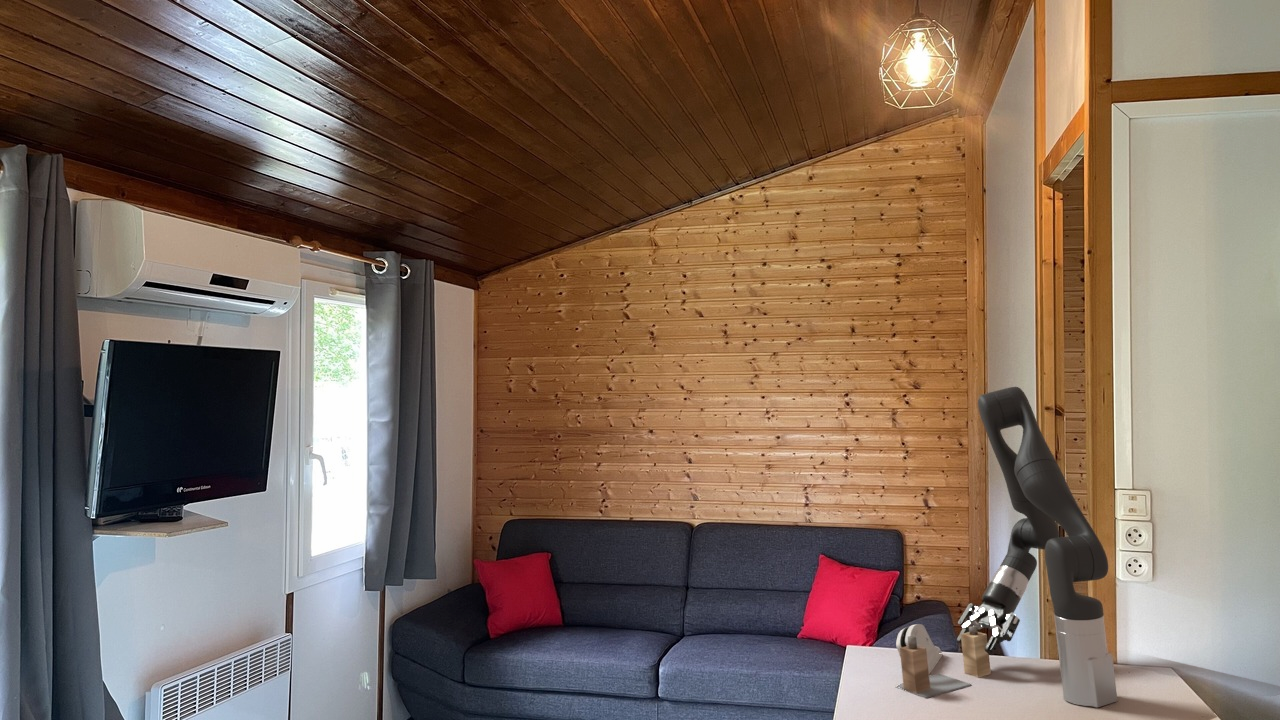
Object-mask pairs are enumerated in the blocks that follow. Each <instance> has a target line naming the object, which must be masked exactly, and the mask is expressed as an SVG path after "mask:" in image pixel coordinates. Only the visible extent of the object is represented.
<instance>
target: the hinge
mask: <svg viewBox="0 0 1280 720" xmlns="http://www.w3.org/2000/svg"><path fill="white" fill-rule="evenodd" d="M909 636H915V637H916V642H917V646H920V647H924V648H926V651H927V661H928V671H929V675H930V674H931V673H932V672H933V670H934V669H935V667H936V665H937V664H938V663H939V661H940V660H941V658H942V656H943V653H942V650H941V648H940V647H939V646H936V645H934V643H933V641H932V639H931V636H929V632H928V631H927V630H926V627H925V626H924V624H920V623H917V624H912V625H909V626H906V627H904V628H903V629H900V630H899V632H898V634H897V638H896V642H895V644H896V645H895V646H896V650H897V652H898V654H899V657H900V658H901V656H900V648H902V647H906V646H908V637H909ZM939 653H942V654H939Z"/></svg>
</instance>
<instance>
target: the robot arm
mask: <svg viewBox="0 0 1280 720" xmlns="http://www.w3.org/2000/svg"><path fill="white" fill-rule="evenodd" d="M977 408H978V413H979V415H980V419H981V422H982V424H983V427H984V430H985V433H986V435H987V438H988V440H989V444H990V445H991V448H992V450H993V453H994V455H995V457H996V460H997V462H998V465H999V467H1000V470H1001V472H1002V474H1003V477H1004V481H1005V484H1006V488H1007V492H1008V495H1009V498H1010V503H1011V505H1012V508H1013V509H1014V510H1015V511H1016V512H1018V513H1019V514H1022V515H1024V516H1025V517H1026V518H1025V517H1024V518H1021V519H1019V520H1018V521H1016V523H1015V524H1014V525H1013V527H1012V529H1011V532H1010V538H1009V543H1008V547H1007V553H1006V555H1005V557H1003V560H1002V562H1001V564H1000V566H999V568H997V571H995V573H994V574H993V576H992V577H991V580H990V581H989V583H988V585H987V587H986V588H985V591H984V592H983V595H982V596H981V602H982V603H981V604H980V605H979V606H976V605H974V604H973V603H972V602H971V603H969V604H968V605H967V607H966V608H965V610H964V611H963V613H962V614H961V616H960V618H959V619H958V621H957V624H958V625H959V626H960V627H961V629H962V630H961V631H960V633H959V635H958V636H957V639H956V642H957V644H959V646H960V647H962V642H961V634H963V633H967V632H969V627H970V626H976V627H977V631H978V630H981V629H984V628H985V629H990V630H991V631H992V635H991V636H990V638H989V640H988V644H987V645H986V647H985V651H986V652H987V653H988V654H989V656H993V655H994V654H995V653H996V652H997V650H998V649H999V646H1000V644H1001V643H1003V642H1004V641H1007V642H1011V641H1012V639H1013V638H1014V635H1015V633H1016V631H1017V628H1018V626H1019V624H1020V621H1021V620H1020V618H1019V617H1018V616H1017V615H1016V614H1015V611H1016V609H1017V607H1018V605H1019V603H1020V602H1021V600H1022V597H1023V596H1024V595H1025V592H1026V590H1027V587H1028V584H1029V582H1030V580H1031V578H1032V577H1033V574H1034V572H1035V571H1036V568H1037V566H1038V561H1037V559H1036V557H1035V556H1034V555H1033V554H1032V553H1030V550H1031V549H1037V550H1043V551H1044V561H1045V567H1046V573H1047V579H1048V580H1047V581H1048V585H1049V592H1050V593H1049V594H1050V598H1051V602H1052V606H1053V614H1054V623H1055V633H1056V642H1057V653H1058V659H1059V661H1058V662H1059V669H1060V679H1061V687H1062V697H1063V700H1065V701H1066V702H1068V703H1070V704H1074V705H1078V706H1084V707H1093V708H1100V707H1104V706H1106V705H1110V704H1113V703H1115V702H1118V694H1117V685H1116V675H1115V667H1114V666H1115V665H1114V659H1113V658H1114V657H1113V654H1112V653H1109V652H1108V644H1107V635H1106V626H1105V616H1104V608H1103V607H1104V606H1103V603H1102V601H1101V600H1099V599H1097V598H1095V597H1092V596H1089V595H1085V594H1081V593H1078V592H1076V590H1075V585H1074V583H1079V582H1090V581H1097V580H1101V579H1104V578H1105V577H1106V576H1107V574H1108V573H1109V560H1108V557H1107V553H1106V551H1105V549H1104V546H1103V544H1102V542H1101V541H1100V538H1099V537H1098V536H1097V534H1096V533H1095V531H1094V529H1093V528H1092V526H1091V524H1090V523H1089V522H1088V520H1087V518H1086V517H1085V515H1084V513H1083V512H1082V509H1081V508H1080V507H1079V505H1078V503H1077V501H1076V499H1075V498H1074V497H1075V496H1073V493H1072V491H1071V489H1070V487H1069V486H1068V483H1067V481H1066V479H1065V475H1064V474H1063V471H1062V470H1061V468H1060V466H1059V463H1058V462H1057V460H1056V458H1055V456H1054V454H1053V453H1052V450H1051V449H1050V447H1049V445H1048V444H1047V442H1046V439H1045V437H1044V436H1043V433H1042V431H1041V429H1040V426H1039V423H1038V421H1037V418H1036V417H1035V414H1034V412H1033V408H1032V406H1031V404H1030V401H1029V400H1028V398H1027V395H1026V393H1025V392H1024V391H1023V389H1022V388H1021V387H1019V386H1010V387H1006V388H1003V389H999V390H994V391H991V392H987V393H982V394H981V395H980V396H978V399H977ZM1016 426H1021V427H1022V436H1021V437H1022V438H1021V441H1020V445H1019V449H1018V451H1017V453H1016V452H1015V451H1014V450H1013V449H1012V448H1011V447H1010V446H1009V444H1007V442H1006V441H1005V439H1004V437H1003V434H1002V432H1001V431H1002V430H1004V429H1008V428H1012V427H1016ZM1058 525H1059V526H1060V527H1061V528H1062V529H1063V531H1064V532H1065V533H1066V535H1067V536H1062V537H1061V536H1060V529H1059V526H1058Z"/></svg>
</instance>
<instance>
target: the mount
mask: <svg viewBox="0 0 1280 720" xmlns="http://www.w3.org/2000/svg"><path fill="white" fill-rule="evenodd" d="M900 656H901V657H900ZM899 657H900V663H901V673H902V675H901V676H902V683H900V685H898V684H897V685H898V686H897V687H900V688H902V689H904V690H903V691H905V690H906V691H905V692H908V693H910V694H912V695H916V696H918V697H921V698H924V699H929V698H933V697H935V696H939V695H943V694H947V693H949V692H950V693H951V692H953V691H957V690H961V689H963V688H968V687H971V686H972V683H969V682H966V681H963V680H960V679H958V678H953V677H951V676H947V675H945V674H942V673H938V672H937V673H936V674H931V675H930V674H929V671H928V661H927V651H926V648H924V647H920V646H917V642H916V637H915V636H909V637H908V646H906V647H902V648H900V654H899ZM897 687H896V688H897ZM902 689H901V690H902Z"/></svg>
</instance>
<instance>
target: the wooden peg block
mask: <svg viewBox="0 0 1280 720" xmlns="http://www.w3.org/2000/svg"><path fill="white" fill-rule="evenodd" d="M961 642H962V646H961V651H962V658H963V669H964V670H963V671H964V674H965V675H968V676H972V677H975V678H981V677H985V676H988V675H991V674H992V673H991V672H992V671H991V661H990V655H989V654H988V653H987V652H986V651H985V647H986V645H987V644H988V642H989V640H988V635H987V633H983V632H980V631H978V629H977V627H976V626H973V625H971V626H969V632H967V633H963V634H961Z"/></svg>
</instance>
